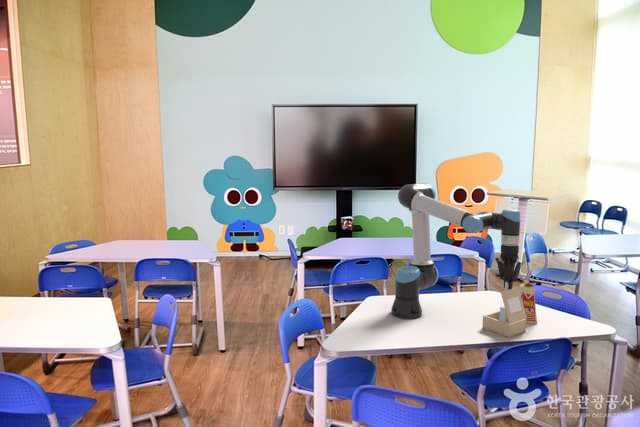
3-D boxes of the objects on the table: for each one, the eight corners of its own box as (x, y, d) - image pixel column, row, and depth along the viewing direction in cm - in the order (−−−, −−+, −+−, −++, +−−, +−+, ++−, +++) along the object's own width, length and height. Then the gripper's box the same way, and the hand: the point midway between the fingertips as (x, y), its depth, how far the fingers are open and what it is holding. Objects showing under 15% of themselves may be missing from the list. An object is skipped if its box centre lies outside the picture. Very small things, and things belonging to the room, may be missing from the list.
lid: (500, 291, 214) (502, 291, 214) (516, 287, 221) (518, 287, 220) (509, 323, 212) (510, 323, 211) (525, 318, 219) (527, 317, 218)
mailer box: (482, 328, 224) (483, 303, 222) (498, 323, 231) (499, 299, 229) (509, 337, 212) (510, 312, 211) (525, 332, 219) (526, 307, 218)
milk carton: (537, 323, 231) (540, 282, 228) (516, 321, 232) (519, 281, 230) (533, 316, 239) (535, 277, 237) (513, 315, 241) (515, 276, 239)
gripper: (492, 243, 219) (490, 293, 222) (517, 247, 208) (515, 300, 211) (502, 241, 223) (500, 291, 226) (527, 245, 213) (525, 297, 215)
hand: (507, 295), depth 219 cm, fingers closed
